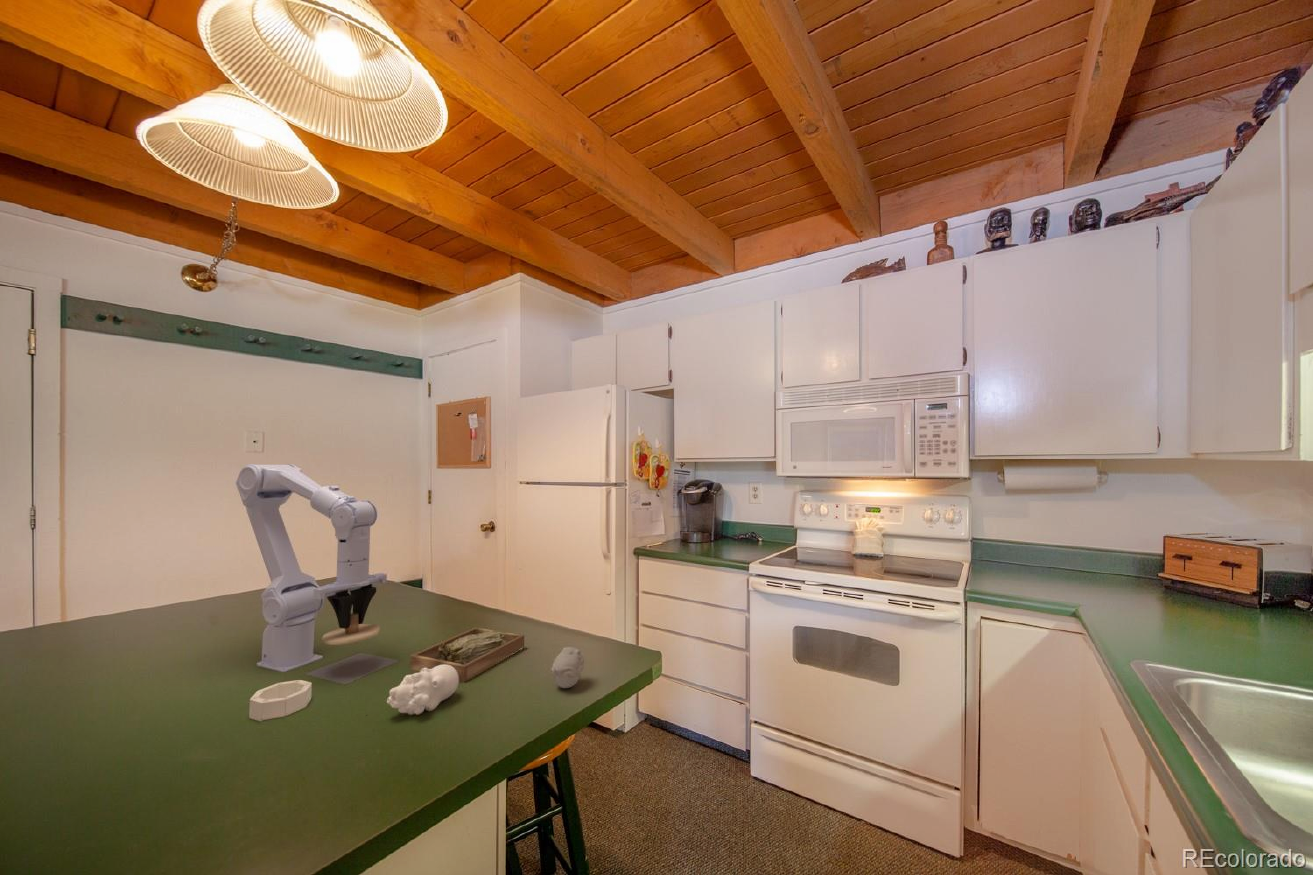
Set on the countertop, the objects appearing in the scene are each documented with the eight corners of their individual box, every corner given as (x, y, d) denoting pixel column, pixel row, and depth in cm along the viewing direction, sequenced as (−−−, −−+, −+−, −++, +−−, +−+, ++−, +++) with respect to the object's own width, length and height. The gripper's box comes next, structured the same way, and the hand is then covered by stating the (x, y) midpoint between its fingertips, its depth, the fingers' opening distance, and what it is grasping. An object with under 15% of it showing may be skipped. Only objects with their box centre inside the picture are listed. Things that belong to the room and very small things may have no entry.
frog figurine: (590, 681, 94) (591, 645, 94) (570, 697, 87) (570, 658, 88) (565, 676, 96) (565, 640, 97) (543, 690, 90) (543, 653, 90)
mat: (304, 675, 97) (304, 674, 97) (360, 653, 108) (361, 652, 108) (344, 685, 92) (344, 684, 92) (399, 662, 103) (399, 660, 103)
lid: (310, 641, 97) (311, 619, 97) (357, 625, 106) (357, 606, 106) (345, 646, 93) (345, 624, 93) (390, 630, 102) (390, 609, 103)
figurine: (472, 684, 87) (412, 709, 77) (453, 706, 89) (392, 733, 78) (455, 651, 90) (395, 671, 80) (437, 673, 92) (376, 695, 81)
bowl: (240, 714, 82) (241, 696, 82) (291, 694, 89) (292, 677, 89) (269, 724, 79) (270, 705, 79) (319, 702, 86) (320, 684, 86)
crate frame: (409, 670, 99) (409, 655, 99) (474, 639, 116) (475, 627, 116) (463, 682, 94) (464, 666, 94) (524, 648, 111) (524, 635, 111)
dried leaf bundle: (452, 678, 96) (453, 650, 96) (432, 664, 103) (432, 639, 103) (516, 656, 107) (516, 631, 107) (494, 645, 113) (494, 622, 114)
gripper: (331, 567, 92) (329, 639, 91) (397, 554, 106) (395, 617, 105) (307, 565, 95) (304, 635, 94) (374, 552, 108) (372, 613, 107)
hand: (351, 625), depth 100 cm, fingers closed on lid, 2 cm apart
